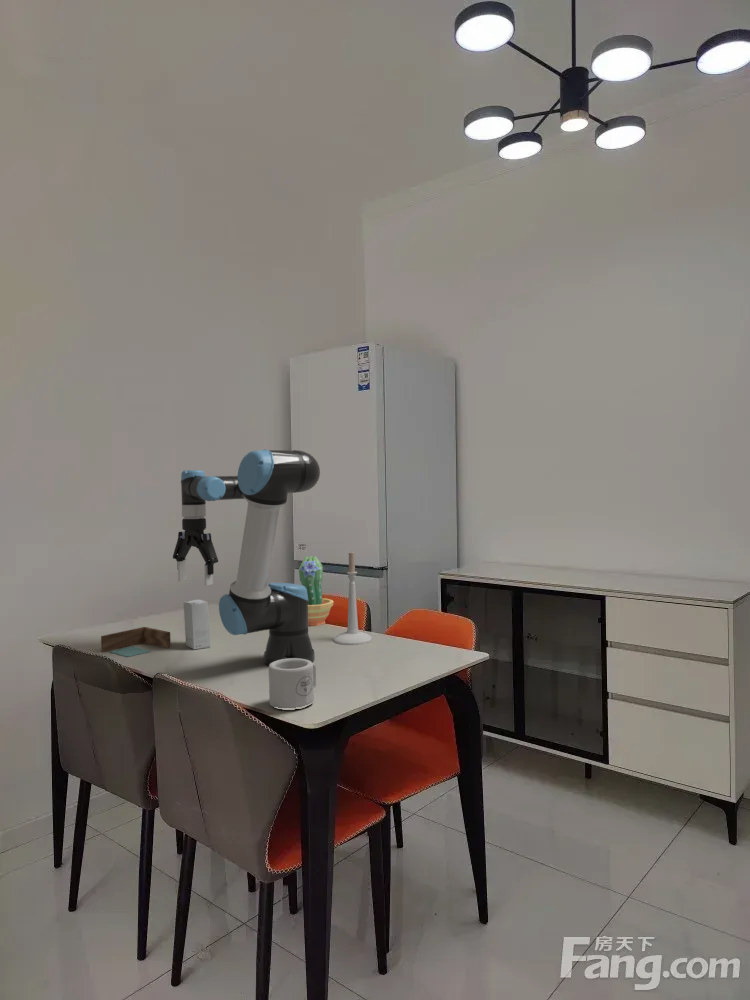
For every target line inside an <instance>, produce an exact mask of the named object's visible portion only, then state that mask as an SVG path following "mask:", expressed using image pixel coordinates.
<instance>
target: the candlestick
mask: <svg viewBox="0 0 750 1000" xmlns="http://www.w3.org/2000/svg"><path fill="white" fill-rule="evenodd" d="M355 553H356V552H355V551H349V552H348V571H347V572H346V574H347V575H348V576H347V578H348V581H349V583H348V609H347V629H346V630H347V631H344V632H341V633H339V634H337V635H336V636H335V637H334V638H333V642H334V643H335V644H337V643H338V644H339V645H345V646H359V645H358V644H361V645H364V644H363V643H366V642H368V641H370V640H371V639H372V640H373V638H372V636H371V635H370V634H368V633H366V632H362V631H359V624H358V609H357V594H356V593H357V591H356V582H355V580H356V578H357V574H358V571H356V566H355V565H356V563H355V562H356V559H355V558H356V557H355V555H356V554H355ZM366 644H367V643H366Z"/></svg>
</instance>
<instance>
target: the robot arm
mask: <svg viewBox="0 0 750 1000" xmlns="http://www.w3.org/2000/svg"><path fill="white" fill-rule="evenodd" d="M237 470H238V471H237V475H220V476H219V475H216V476H215V475H211V476H209V475H207V476H206V472H205V471H204V470H202V469H198V470H197V469H192V470H191V469H189V470H188V469H187V470H182V472H181V476H180V478H181V479H180V484H181V485H180V486H181V487H180V488H181V517H182V520H181V522H182V523H181V526H182V527H181V529H182V530H183V531H178V533H177V534H178V536H177V540H176V541H177V542H176V544H175V548H174V551H173V554H172V559H175V561H176V563H177V571H178V572H177V578H178V582H184V581H185V582H186V581H187V559H186V557H187V555H188V554H189V551H190V550H191V547H194V548H196V549H198V551H199V553H200V555H201V557H202V558H203V560H204V562H205V564H204V567H203V568H204V569H203V570H204V585H205V586H210V585H212V586H213V585H214V573H215V571H214V564H216V563H219V559H218V555H217V552H216V550H215V547H214V543H213V541H212V540H213V539H212V534H211V533H210V532H209V533H208V532H207V533H205V532H204V531H205V530H206V529H207V518H206V516H207V513H206V512H207V511H206V510H207V509H206V507H207V506H206V504H207V502H215V501H225V500H227V501H228V500H245V501H246V502H247V509H246V510H247V511H246V516H245V522H244V523H245V524H244V528H243V529H244V530H243V533H242V534H243V535H242V536H243V537H242V541H241V549H240V557H239V562H238V568H237V576H236V580H234V581H233V582H232V583H231V584H230V586H229V592H228V594H224V595H222V596H221V597H220V599H219V601H218V612H219V613H218V614H219V616H220V617H219V618H220V620H221V623H222V625H223V627H224V628H225V630H226V631H227V632H228V633H229V634H230V635H232V636H238V635H247V634H251V633H259V632H262V631H268V639H267V643H266V646H265V651H264V653H263V663H264V664H266V665H267V666H269V665H270V664H271V663H272V662H274V661H277V660H281V659H288V658H300V659H306V660H309V661H311V662H312V663H314V661H315V658H316V657H315V650H314V648H313V645H312V641H311V638H310V634H309V626H308V595H307V589H306V588H305V587H304V586H302V584H298V583H287V582H270V583H268V582H269V581H268V580H269V575H270V567H271V564H272V562H271V561H272V556H273V549H274V545H275V539H276V538H275V537H276V532H277V526H278V520H279V515H280V508H281V507H283V506H284V505H286V503H287V501H288V496H289V495H288V494H290V493H291V494H292V493H303V492H307V491H309V490H311V489H312V488H314V487H315V485H317V483H318V482H319V480H320V476H321V468H320V465H319V463H318V461H317V459H316V458H315V457H314V456H313V455H312V454H311V453H309V452H306V451H303V450H294V449H292V450H289V449H288V450H285V449H283V450H279V449H277V450H273V449H260V450H259V449H258V450H252V451H249V452H247V454H245V455H244V456H243V457H242V459H241V461H240V463H239V466H238V469H237ZM206 501H207V502H206Z"/></svg>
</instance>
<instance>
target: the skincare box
mask: <svg viewBox="0 0 750 1000" xmlns="http://www.w3.org/2000/svg"><path fill="white" fill-rule="evenodd" d="M208 604H209V602H208V601H205V600H202V599H199V598H198V599H192V600H186V601H185V600H184V601H183V615H184V616H183V617H184V618H183V619H184V633H185V634H184V635H185V645H186V647H189V648H191V649H192V650H198V649H199V650H200V649H206V648H211V635H210V634H211V633H210V617H209V616H210V615H209V605H208Z"/></svg>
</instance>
